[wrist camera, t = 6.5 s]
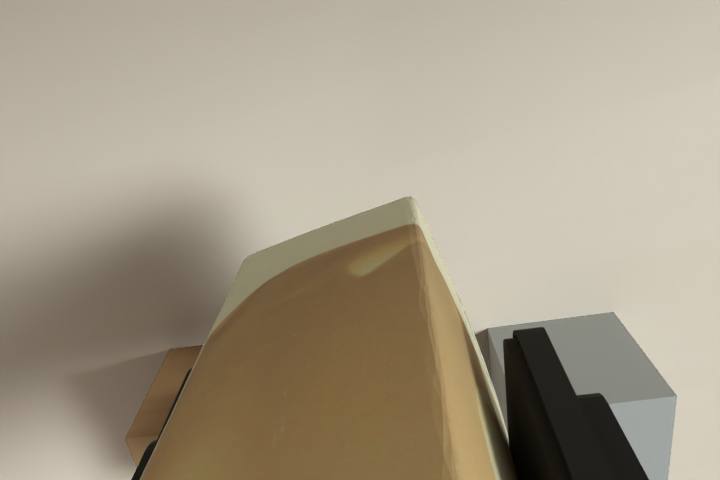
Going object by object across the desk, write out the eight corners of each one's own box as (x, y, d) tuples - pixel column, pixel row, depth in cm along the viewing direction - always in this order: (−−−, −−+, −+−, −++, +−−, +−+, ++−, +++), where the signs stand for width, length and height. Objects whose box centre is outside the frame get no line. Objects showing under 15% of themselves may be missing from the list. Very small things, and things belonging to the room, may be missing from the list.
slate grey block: (612, 311, 22) (676, 396, 18) (608, 406, 24) (664, 504, 20) (487, 327, 23) (519, 414, 18) (493, 420, 25) (523, 519, 20)
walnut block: (289, 333, 23) (272, 421, 18) (311, 425, 25) (301, 525, 20) (170, 348, 23) (124, 439, 19) (202, 438, 25) (168, 539, 21)
